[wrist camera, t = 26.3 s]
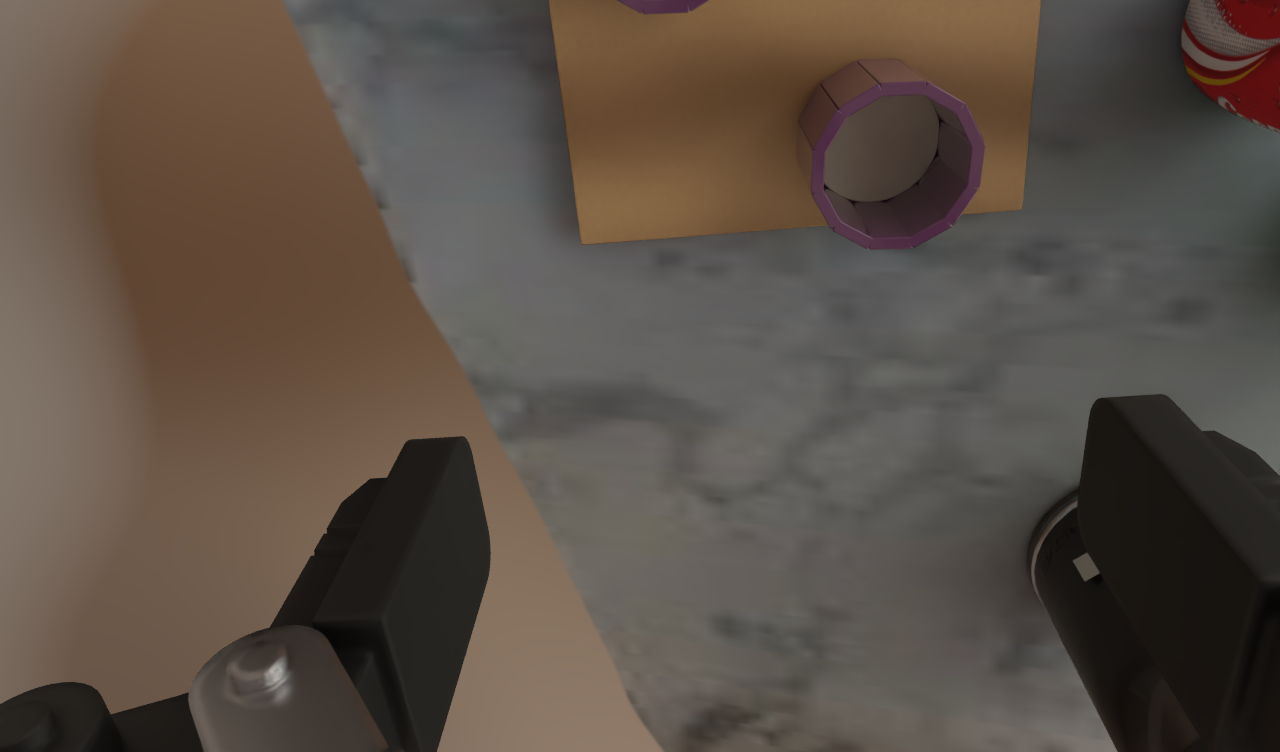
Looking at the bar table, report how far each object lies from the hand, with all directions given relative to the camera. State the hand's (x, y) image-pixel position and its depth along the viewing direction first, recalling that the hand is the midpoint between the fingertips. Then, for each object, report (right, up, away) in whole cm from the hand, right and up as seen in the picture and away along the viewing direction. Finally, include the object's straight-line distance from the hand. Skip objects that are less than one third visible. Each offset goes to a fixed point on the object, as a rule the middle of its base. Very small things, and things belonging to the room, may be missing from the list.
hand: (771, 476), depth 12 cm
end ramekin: (+7, +11, +24) cm, 27 cm away
